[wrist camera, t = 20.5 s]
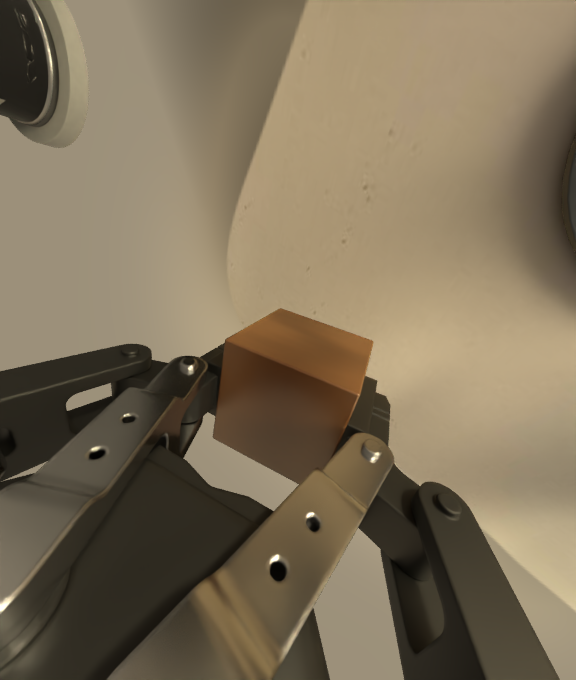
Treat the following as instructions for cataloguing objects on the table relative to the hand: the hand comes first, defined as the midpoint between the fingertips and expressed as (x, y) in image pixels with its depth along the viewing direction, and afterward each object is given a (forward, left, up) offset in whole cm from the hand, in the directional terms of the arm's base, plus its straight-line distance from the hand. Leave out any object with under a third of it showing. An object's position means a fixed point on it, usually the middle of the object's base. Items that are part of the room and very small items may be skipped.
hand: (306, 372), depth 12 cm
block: (0, 0, -1) cm, 1 cm away
